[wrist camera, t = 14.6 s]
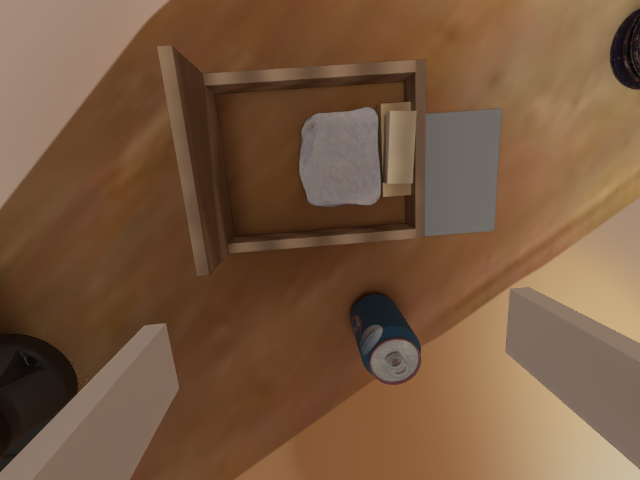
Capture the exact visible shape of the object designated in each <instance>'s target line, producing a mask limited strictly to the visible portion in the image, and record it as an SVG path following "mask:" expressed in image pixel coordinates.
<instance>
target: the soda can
mask: <svg viewBox="0 0 640 480" xmlns="http://www.w3.org/2000/svg"><path fill="white" fill-rule="evenodd" d="M351 324H352V328H353V331H354V334H355V338H356V341H357V345H358V348H359V351H360V355H361V358H362V361H363V364H364V366H365V368H366V369H367V370H368V371H369V372H370V373H371V374H372V375H374V377H375V378H376V379H377V380H379V381H380V382H382V383H385V384H390V385H397V384H402V383H405V382H407V381H408V380H410V379H411V378H413V376H415V375H416V373H417V371H418V370H419V368H420V364H421V355H420V354H421V347H420V343H419V340H418V338H417V337H416V335H415V334H414V332H413V331H412V329H411V328H410V326H409V325H408V323H407V321H406V320H405V318H404V317H403V315H402V314H401V312H400V311H399V309H398V308H397V306H396V305H395V303H394V302H393V301H392V300H391V299H390V298H388V297H386V296H384V295H379V294H372V295H368V296H365V297H363V298H361V299H360V300H359V301H358V302H357V303H356V304H355V305H354V307H353V309H352V312H351Z"/></svg>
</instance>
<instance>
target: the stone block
mask: <svg viewBox="0 0 640 480" xmlns="http://www.w3.org/2000/svg"><path fill="white" fill-rule="evenodd" d="M301 136H302V144H301V149H300V162H299V165H300V166H299V174H300V177H301V180H302V183H303V187H304V189H305V191H306V196H307V200H308V202H309V203H310V204H312V205H314V206H323V207H325V206H327V207H336V206H339V205H344V204H358V205H372V204H374V203H376V202H377V200H378V199H379V197H380V195H381V177H380V161H379V153H378V116H377V113H376V112H375V110H373V109H372V108H371V107H365V108H361V109H357V110H352V111H346V112H331V113H317V114H314V115H313V116H312V117H310V118H308V119H307V120H306V122H305V124H304V126H303V128H302V135H301Z"/></svg>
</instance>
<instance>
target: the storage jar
mask: <svg viewBox="0 0 640 480" xmlns="http://www.w3.org/2000/svg"><path fill="white" fill-rule="evenodd" d="M610 62H611V68H612V71H613V73H614V75H615V77H616V78H617V79H618V81H619V82H620V83H622V84H623V85H624V86H626V87H628V88H631V89H638V90H639V89H640V9H638V10H636V11H635V12H633V13H632V14H631V15H630V16H628V17H627V18H626V19H625V21H624V22H623V23H622V24H621V26H620V27H619V28H618V30H617V32H616V34H615V36H614V39H613V42H612V45H611V51H610Z"/></svg>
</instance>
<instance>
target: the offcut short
mask: <svg viewBox="0 0 640 480" xmlns="http://www.w3.org/2000/svg"><path fill="white" fill-rule="evenodd" d="M416 114H417V111H389V112H388V113H386V114H385V118H384V149H383V179H382V183H386V184H403V183H413V168H414V150H415V132H416Z"/></svg>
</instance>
